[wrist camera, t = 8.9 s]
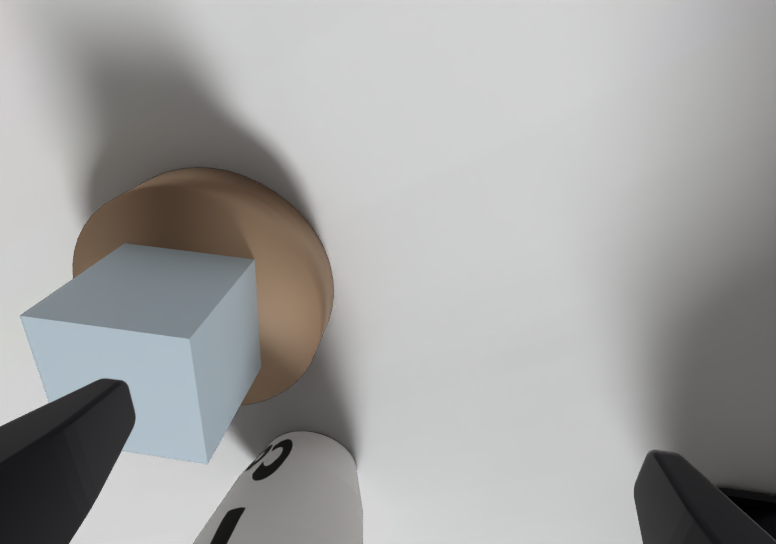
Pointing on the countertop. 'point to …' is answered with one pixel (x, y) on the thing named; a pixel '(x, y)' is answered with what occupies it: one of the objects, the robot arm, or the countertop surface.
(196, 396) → the block
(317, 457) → the cup
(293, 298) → the brown shallow bowl
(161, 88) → the countertop surface
